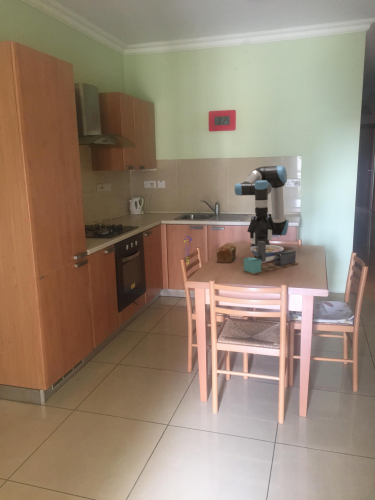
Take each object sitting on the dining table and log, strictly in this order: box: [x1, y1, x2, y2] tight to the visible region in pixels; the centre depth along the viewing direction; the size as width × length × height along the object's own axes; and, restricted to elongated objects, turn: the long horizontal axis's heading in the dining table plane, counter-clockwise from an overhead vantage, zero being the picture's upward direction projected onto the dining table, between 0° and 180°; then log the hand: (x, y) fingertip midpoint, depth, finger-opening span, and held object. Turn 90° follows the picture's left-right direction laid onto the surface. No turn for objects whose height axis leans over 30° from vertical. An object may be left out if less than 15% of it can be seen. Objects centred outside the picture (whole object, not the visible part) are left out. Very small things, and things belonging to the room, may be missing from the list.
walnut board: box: [242, 261, 299, 276], centre depth 245 cm, size 38×9×1 cm, turn 122°
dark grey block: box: [273, 249, 297, 266], centre depth 250 cm, size 13×6×8 cm, turn 122°
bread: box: [216, 244, 237, 264], centre depth 271 cm, size 19×11×10 cm, turn 163°
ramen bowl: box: [249, 244, 285, 258], centre depth 269 cm, size 25×23×8 cm
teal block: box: [243, 256, 262, 273], centre depth 236 cm, size 6×9×8 cm, turn 32°
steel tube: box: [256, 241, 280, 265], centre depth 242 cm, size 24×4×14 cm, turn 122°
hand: (261, 241), depth 238 cm, fingers open, 13 cm apart
